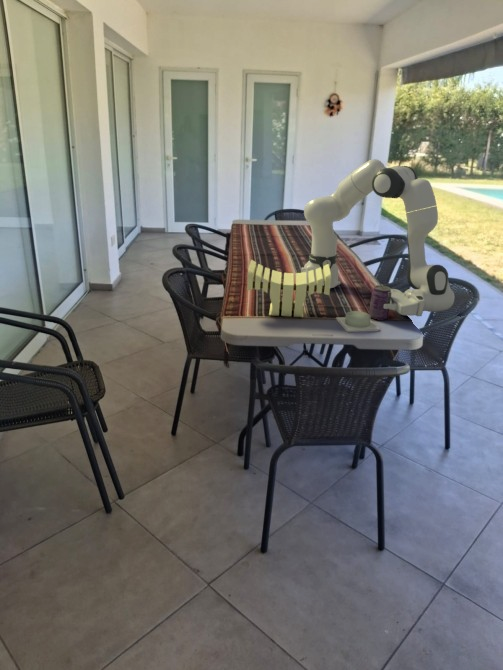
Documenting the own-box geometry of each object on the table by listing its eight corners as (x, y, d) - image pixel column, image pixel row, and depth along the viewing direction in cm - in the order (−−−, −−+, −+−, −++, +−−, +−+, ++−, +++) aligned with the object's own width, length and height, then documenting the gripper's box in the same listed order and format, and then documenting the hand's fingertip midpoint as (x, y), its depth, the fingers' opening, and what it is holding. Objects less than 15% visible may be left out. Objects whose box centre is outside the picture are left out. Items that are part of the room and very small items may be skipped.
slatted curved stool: (246, 316, 183) (247, 270, 176) (249, 302, 198) (251, 259, 190) (326, 321, 181) (331, 275, 174) (324, 306, 196) (328, 263, 189)
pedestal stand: (336, 319, 184) (337, 309, 182) (366, 318, 186) (367, 309, 184) (347, 331, 173) (348, 322, 171) (379, 330, 175) (380, 321, 173)
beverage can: (384, 314, 190) (389, 285, 186) (389, 321, 184) (394, 291, 179) (366, 314, 190) (370, 284, 185) (371, 320, 184) (375, 290, 179)
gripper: (401, 284, 195) (368, 285, 192) (426, 301, 176) (390, 302, 174) (398, 299, 197) (366, 300, 195) (423, 318, 179) (388, 319, 176)
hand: (378, 301), depth 184 cm, fingers open, 8 cm apart
